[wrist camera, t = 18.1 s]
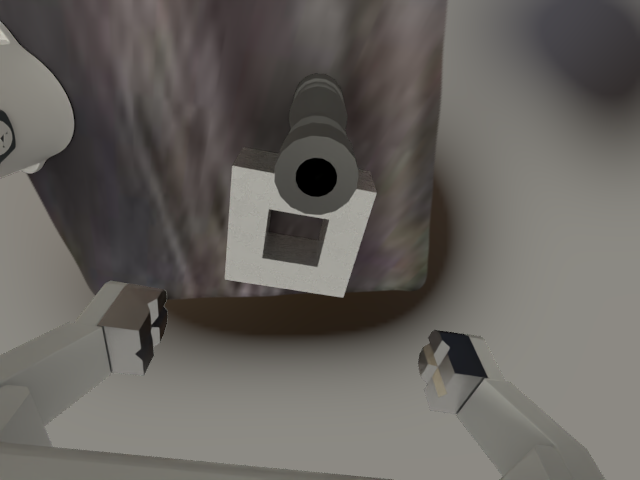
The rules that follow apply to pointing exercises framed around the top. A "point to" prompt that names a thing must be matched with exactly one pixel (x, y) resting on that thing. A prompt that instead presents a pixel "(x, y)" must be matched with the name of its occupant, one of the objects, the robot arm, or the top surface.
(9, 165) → the robot arm
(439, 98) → the top surface
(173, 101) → the top surface
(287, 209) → the sleeve block
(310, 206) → the candle holder
